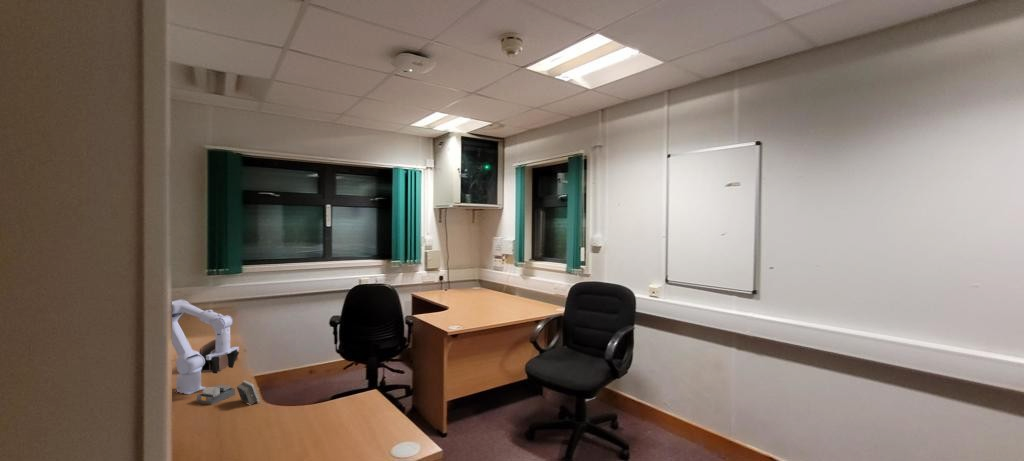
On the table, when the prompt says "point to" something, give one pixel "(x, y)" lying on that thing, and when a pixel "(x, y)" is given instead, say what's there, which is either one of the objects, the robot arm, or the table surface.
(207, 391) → the grey block
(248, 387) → the electrical switch
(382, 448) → the table surface
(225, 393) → the rack
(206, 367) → the letter holder
